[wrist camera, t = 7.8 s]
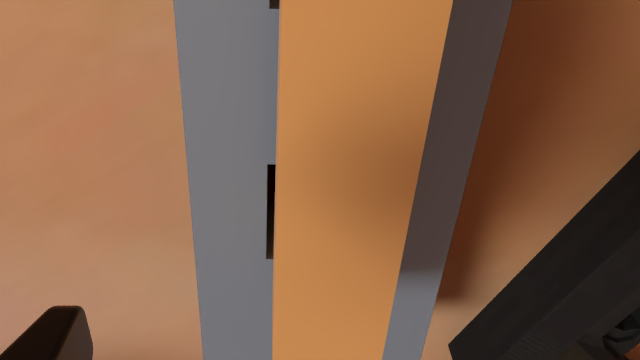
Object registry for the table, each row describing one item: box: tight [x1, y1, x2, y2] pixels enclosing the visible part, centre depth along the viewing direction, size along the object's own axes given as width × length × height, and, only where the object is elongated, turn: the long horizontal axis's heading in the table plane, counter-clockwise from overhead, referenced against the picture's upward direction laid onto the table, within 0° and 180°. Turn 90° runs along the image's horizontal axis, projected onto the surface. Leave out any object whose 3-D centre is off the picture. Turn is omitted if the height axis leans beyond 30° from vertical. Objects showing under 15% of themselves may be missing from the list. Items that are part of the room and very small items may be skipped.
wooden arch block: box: [272, 0, 453, 360], centre depth 15 cm, size 13×3×6 cm, turn 176°
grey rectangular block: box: [173, 0, 513, 360], centre depth 16 cm, size 22×8×3 cm, turn 176°
